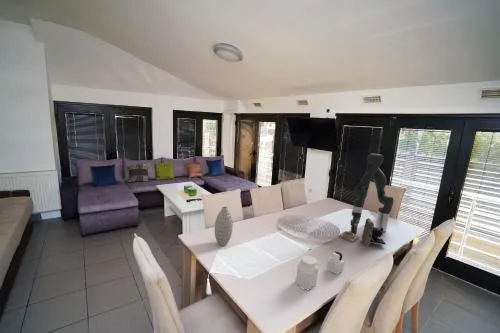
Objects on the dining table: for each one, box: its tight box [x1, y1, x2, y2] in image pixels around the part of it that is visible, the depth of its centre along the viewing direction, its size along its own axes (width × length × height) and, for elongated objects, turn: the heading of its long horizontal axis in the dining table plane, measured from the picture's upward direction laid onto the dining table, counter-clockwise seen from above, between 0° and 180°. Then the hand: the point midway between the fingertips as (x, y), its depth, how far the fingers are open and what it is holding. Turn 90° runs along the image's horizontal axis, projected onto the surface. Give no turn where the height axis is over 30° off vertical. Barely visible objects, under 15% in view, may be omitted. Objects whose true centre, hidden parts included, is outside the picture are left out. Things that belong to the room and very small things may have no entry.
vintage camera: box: [361, 218, 387, 246], centre depth 185 cm, size 10×15×20 cm, turn 78°
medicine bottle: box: [326, 250, 345, 275], centre depth 147 cm, size 7×7×12 cm
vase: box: [214, 206, 234, 247], centre depth 167 cm, size 13×13×28 cm
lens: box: [349, 222, 359, 235], centre depth 203 cm, size 5×5×10 cm
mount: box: [338, 231, 360, 244], centre depth 194 cm, size 12×12×4 cm
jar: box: [295, 255, 319, 290], centre depth 133 cm, size 12×10×15 cm
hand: (354, 229), depth 204 cm, fingers closed on lens, 5 cm apart
